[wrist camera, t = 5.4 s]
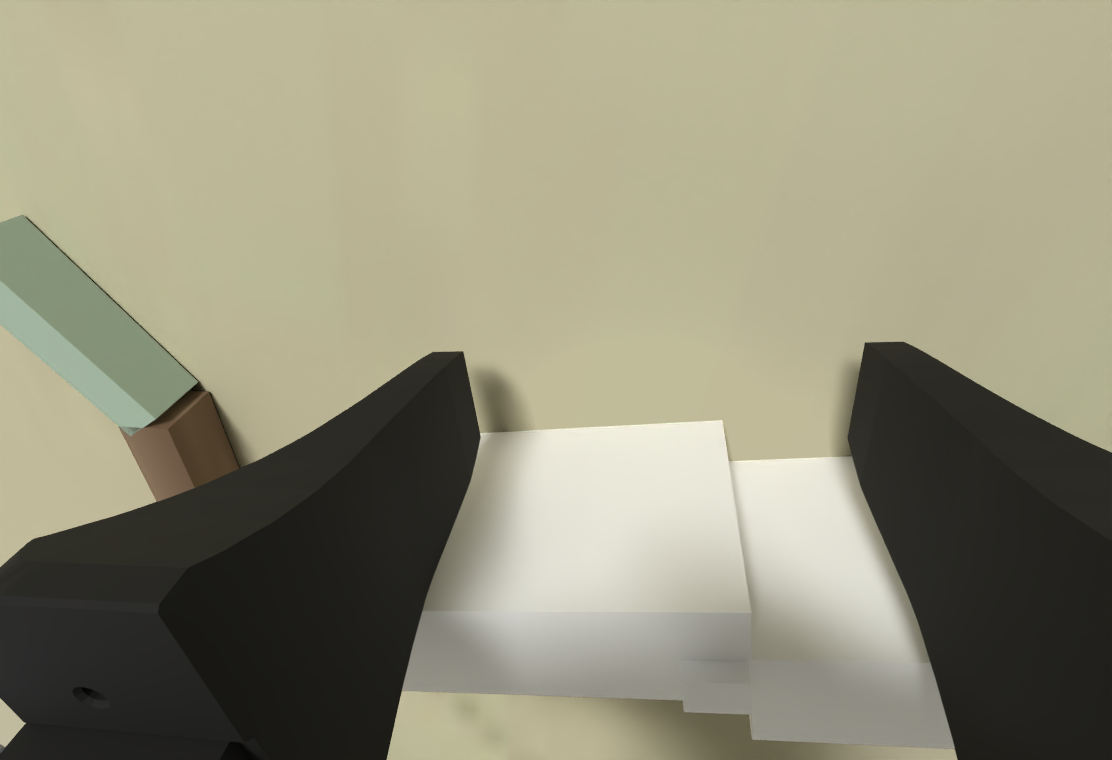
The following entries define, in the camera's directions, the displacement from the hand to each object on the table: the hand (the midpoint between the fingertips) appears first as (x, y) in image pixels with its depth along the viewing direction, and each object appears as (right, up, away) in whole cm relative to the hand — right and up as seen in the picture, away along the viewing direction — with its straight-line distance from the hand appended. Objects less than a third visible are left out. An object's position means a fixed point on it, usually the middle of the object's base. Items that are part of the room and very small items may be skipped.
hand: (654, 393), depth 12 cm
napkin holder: (+1, -2, +4) cm, 5 cm away
